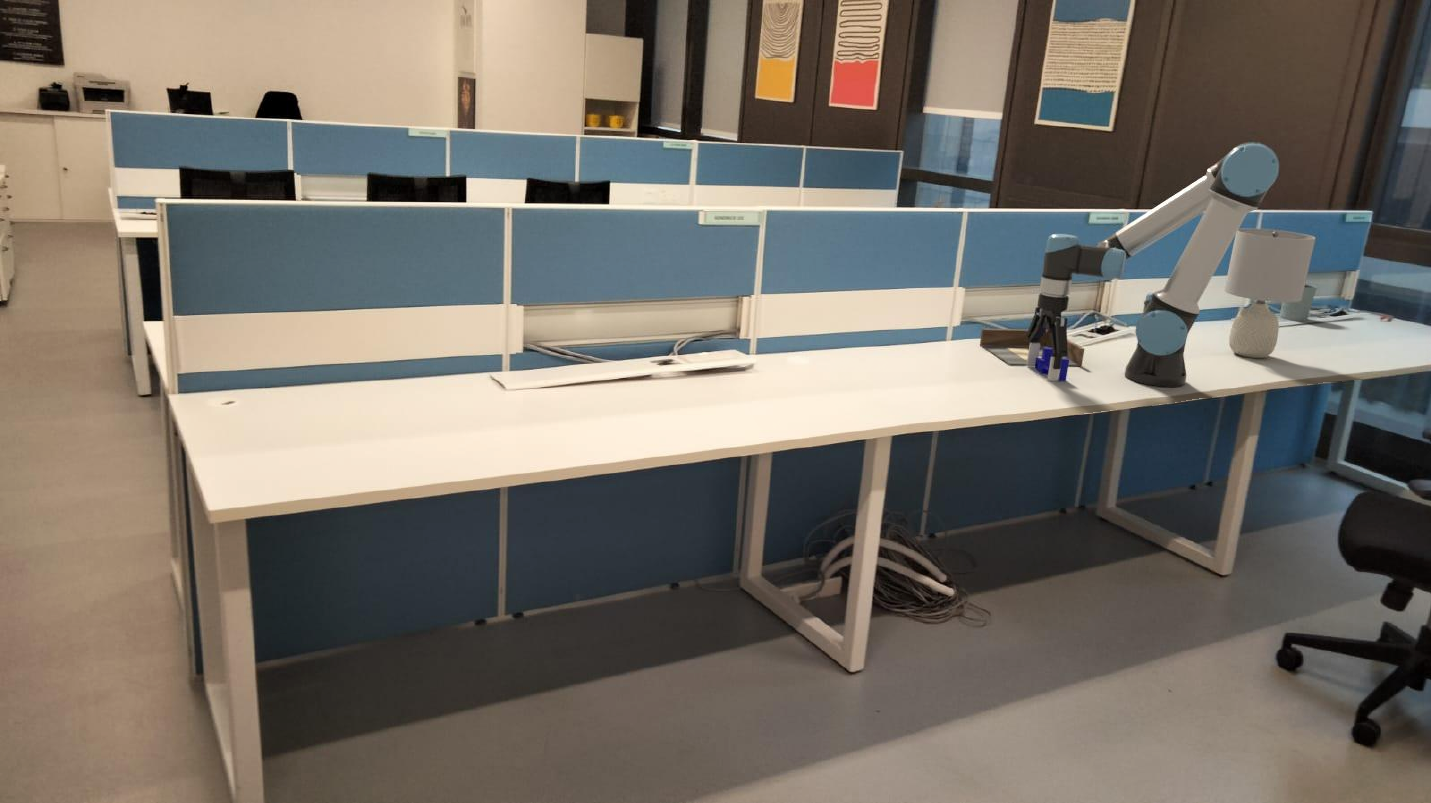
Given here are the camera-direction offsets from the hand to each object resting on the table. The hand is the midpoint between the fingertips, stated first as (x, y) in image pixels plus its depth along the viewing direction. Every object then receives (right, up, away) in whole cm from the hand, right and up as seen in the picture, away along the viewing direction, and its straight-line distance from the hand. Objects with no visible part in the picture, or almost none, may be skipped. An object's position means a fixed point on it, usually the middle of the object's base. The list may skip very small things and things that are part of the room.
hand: (1042, 373), depth 278 cm
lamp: (+72, +6, +33) cm, 79 cm away
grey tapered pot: (+117, +22, +89) cm, 148 cm away
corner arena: (+2, +5, +18) cm, 18 cm away
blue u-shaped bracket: (+2, -1, 0) cm, 2 cm away
